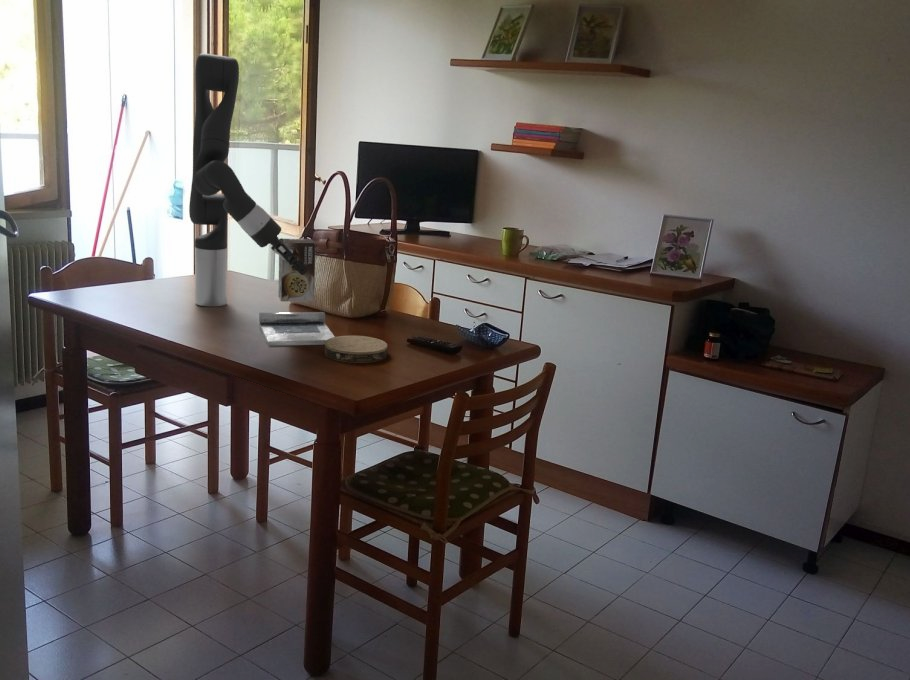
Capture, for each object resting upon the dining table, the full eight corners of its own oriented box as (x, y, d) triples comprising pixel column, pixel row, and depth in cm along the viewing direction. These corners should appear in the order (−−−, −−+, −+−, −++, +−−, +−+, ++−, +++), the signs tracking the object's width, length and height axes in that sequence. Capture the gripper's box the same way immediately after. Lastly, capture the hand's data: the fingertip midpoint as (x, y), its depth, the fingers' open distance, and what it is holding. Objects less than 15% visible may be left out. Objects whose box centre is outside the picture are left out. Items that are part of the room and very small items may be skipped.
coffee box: (310, 296, 231) (312, 238, 227) (314, 301, 225) (316, 242, 221) (277, 296, 228) (278, 237, 224) (280, 301, 222) (281, 241, 218)
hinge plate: (258, 326, 233) (259, 311, 232) (322, 325, 239) (323, 311, 238) (268, 345, 215) (268, 330, 213) (337, 344, 221) (337, 328, 220)
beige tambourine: (343, 343, 224) (344, 332, 223) (397, 353, 218) (397, 342, 217) (312, 356, 209) (312, 345, 208) (369, 367, 204) (369, 356, 203)
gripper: (273, 219, 212) (318, 265, 219) (266, 212, 225) (308, 256, 232) (251, 239, 211) (297, 285, 218) (245, 231, 224) (288, 274, 231)
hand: (302, 270), depth 225 cm, fingers closed on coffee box, 6 cm apart
